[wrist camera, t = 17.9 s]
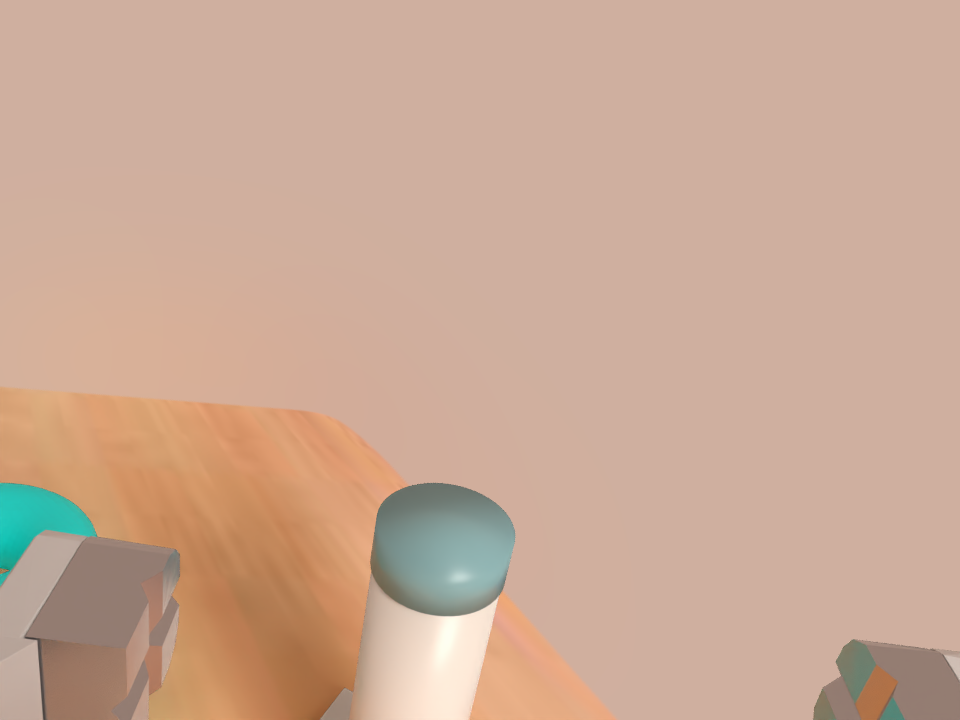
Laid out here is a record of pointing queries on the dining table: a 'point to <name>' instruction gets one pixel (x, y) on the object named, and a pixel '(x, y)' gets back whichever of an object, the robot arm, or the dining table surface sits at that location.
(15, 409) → the dining table surface
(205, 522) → the dining table surface
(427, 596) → the cylinder
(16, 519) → the donuts
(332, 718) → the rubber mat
